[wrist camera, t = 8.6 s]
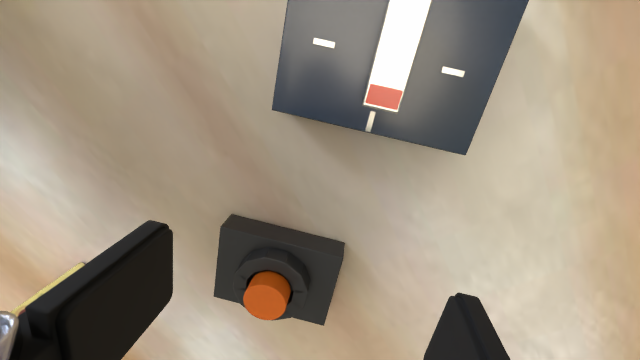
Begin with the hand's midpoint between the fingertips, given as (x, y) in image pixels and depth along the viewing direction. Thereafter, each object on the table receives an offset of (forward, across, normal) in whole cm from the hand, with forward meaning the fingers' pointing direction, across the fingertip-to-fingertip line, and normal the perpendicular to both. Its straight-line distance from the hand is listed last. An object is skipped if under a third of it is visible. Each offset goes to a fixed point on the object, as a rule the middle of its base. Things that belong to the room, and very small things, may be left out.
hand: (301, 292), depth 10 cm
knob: (+13, -2, -8) cm, 16 cm away
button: (+13, +3, +12) cm, 18 cm away
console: (+16, -2, -8) cm, 18 cm away
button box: (+16, +3, +12) cm, 20 cm away
